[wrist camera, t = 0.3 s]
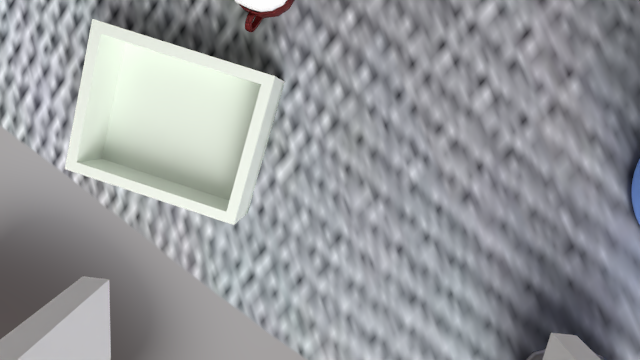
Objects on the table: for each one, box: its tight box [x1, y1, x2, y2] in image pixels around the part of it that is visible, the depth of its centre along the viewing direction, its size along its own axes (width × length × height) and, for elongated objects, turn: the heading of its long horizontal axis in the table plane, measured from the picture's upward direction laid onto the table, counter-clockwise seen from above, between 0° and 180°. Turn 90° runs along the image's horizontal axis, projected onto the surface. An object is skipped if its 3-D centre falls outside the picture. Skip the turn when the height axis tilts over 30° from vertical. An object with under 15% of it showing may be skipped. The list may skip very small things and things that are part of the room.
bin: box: [65, 19, 285, 225], centre depth 35 cm, size 14×17×4 cm
